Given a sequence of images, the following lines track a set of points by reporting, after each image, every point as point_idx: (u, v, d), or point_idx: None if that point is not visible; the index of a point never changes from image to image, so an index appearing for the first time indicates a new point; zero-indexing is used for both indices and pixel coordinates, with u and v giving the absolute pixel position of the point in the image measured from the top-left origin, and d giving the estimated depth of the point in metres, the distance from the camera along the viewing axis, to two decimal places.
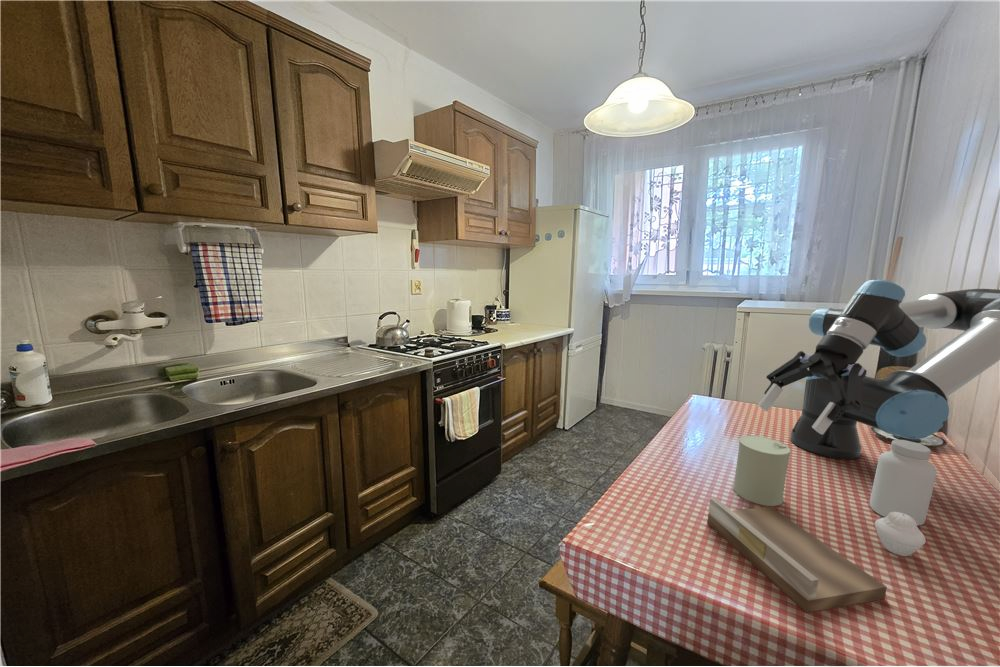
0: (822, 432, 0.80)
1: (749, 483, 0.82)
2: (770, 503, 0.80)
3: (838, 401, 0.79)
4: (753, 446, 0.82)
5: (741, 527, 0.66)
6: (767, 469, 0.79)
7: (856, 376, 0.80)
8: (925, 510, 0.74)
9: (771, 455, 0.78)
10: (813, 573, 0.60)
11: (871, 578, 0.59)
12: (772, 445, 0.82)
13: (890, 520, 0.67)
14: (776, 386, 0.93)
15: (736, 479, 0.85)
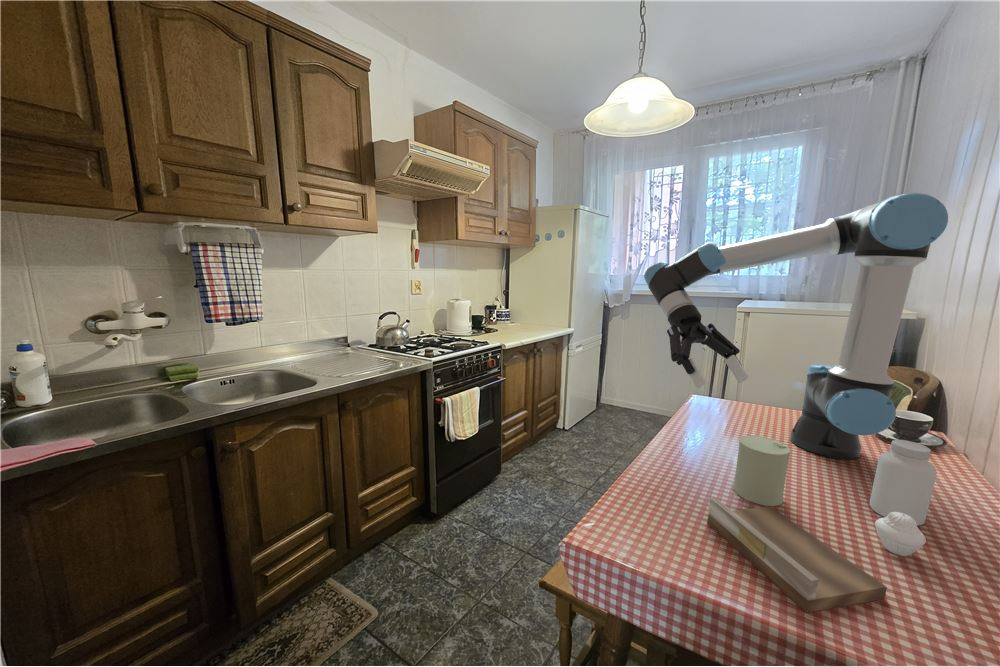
0: (702, 382, 0.88)
1: (749, 483, 0.82)
2: (770, 503, 0.80)
3: (678, 363, 0.93)
4: (753, 446, 0.82)
5: (741, 527, 0.66)
6: (767, 469, 0.79)
7: (670, 338, 0.96)
8: (925, 510, 0.74)
9: (771, 455, 0.78)
10: (813, 573, 0.60)
11: (871, 578, 0.59)
12: (772, 445, 0.82)
13: (890, 520, 0.67)
14: (726, 361, 0.97)
15: (736, 479, 0.85)
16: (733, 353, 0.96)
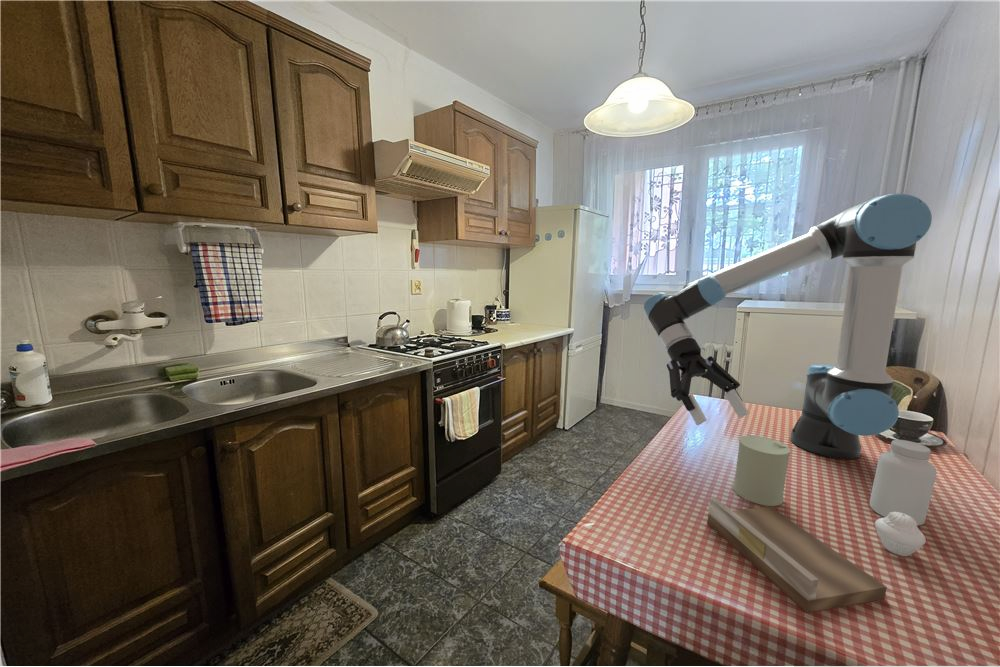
0: (702, 419, 0.88)
1: (749, 483, 0.82)
2: (770, 503, 0.80)
3: (677, 399, 0.93)
4: (753, 446, 0.82)
5: (741, 527, 0.66)
6: (767, 469, 0.79)
7: (670, 373, 0.96)
8: (925, 510, 0.74)
9: (771, 455, 0.78)
10: (813, 573, 0.60)
11: (871, 578, 0.59)
12: (772, 445, 0.82)
13: (890, 520, 0.67)
14: (726, 395, 0.97)
15: (736, 479, 0.85)
16: (733, 387, 0.96)
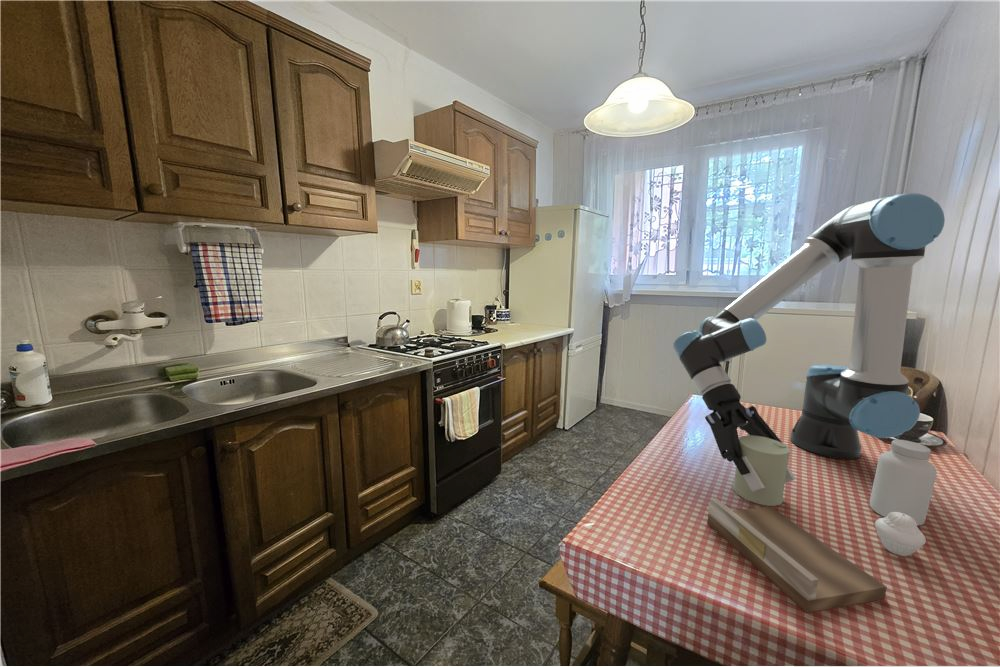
0: (759, 487, 0.79)
1: None
2: (770, 503, 0.80)
3: (729, 460, 0.84)
4: (753, 446, 0.82)
5: (741, 527, 0.66)
6: (767, 469, 0.79)
7: (712, 428, 0.87)
8: (925, 510, 0.74)
9: (771, 455, 0.78)
10: (813, 573, 0.60)
11: (871, 578, 0.59)
12: (772, 445, 0.82)
13: (890, 520, 0.67)
14: None
15: (736, 479, 0.85)
16: None
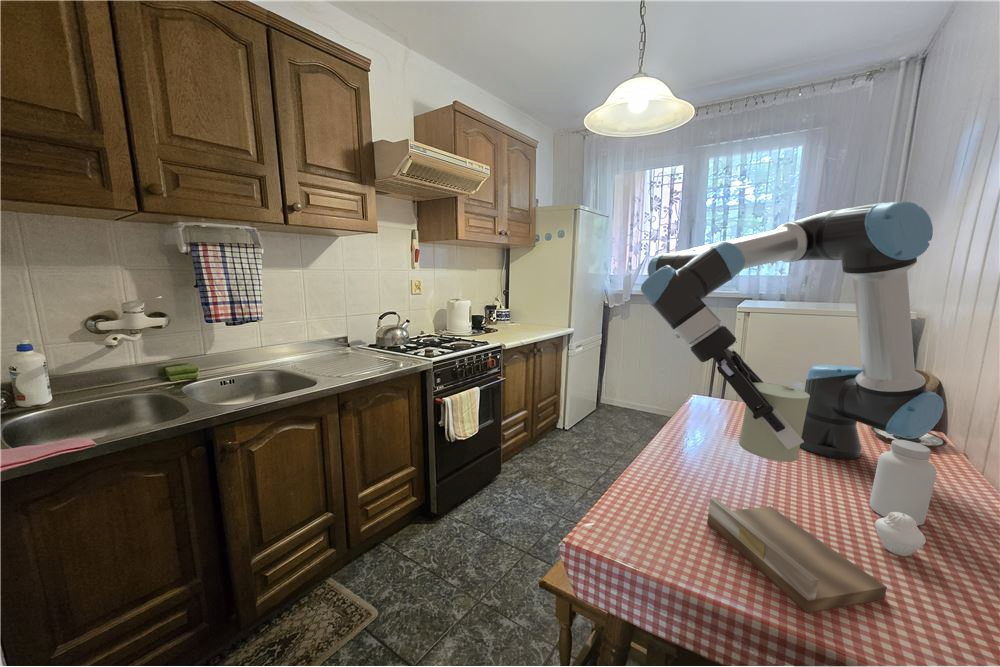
0: (799, 441, 0.64)
1: (777, 439, 0.67)
2: (796, 457, 0.67)
3: (755, 418, 0.67)
4: (777, 394, 0.67)
5: (741, 527, 0.66)
6: (798, 417, 0.66)
7: (730, 382, 0.67)
8: (925, 510, 0.74)
9: (803, 400, 0.65)
10: (813, 573, 0.60)
11: (871, 578, 0.59)
12: (783, 389, 0.70)
13: (890, 520, 0.67)
14: None
15: (753, 439, 0.69)
16: None
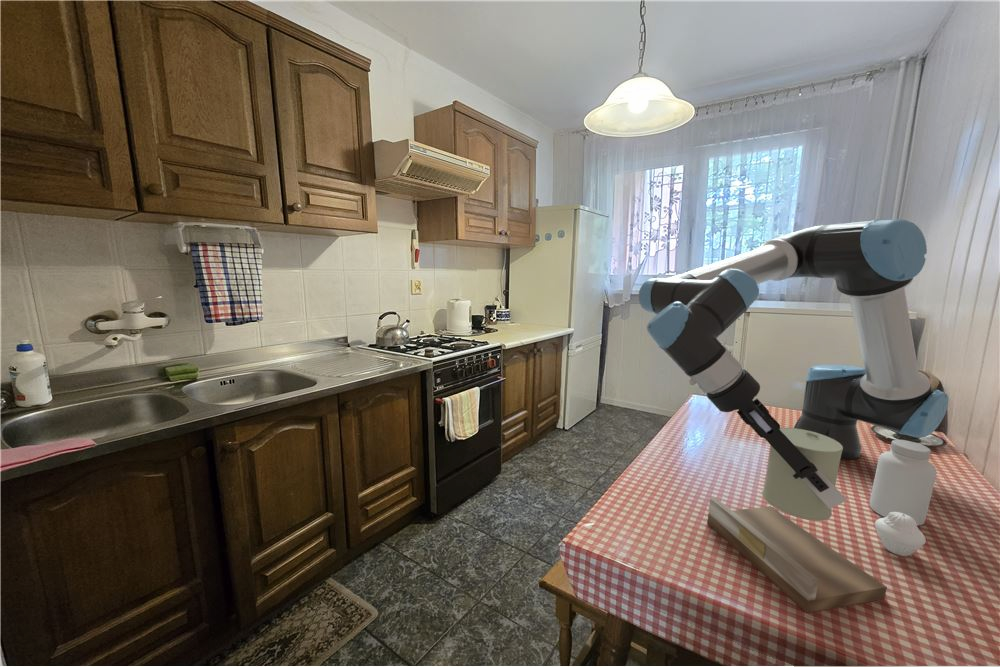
0: (842, 499, 0.58)
1: (816, 497, 0.60)
2: (831, 512, 0.61)
3: None
4: (812, 447, 0.60)
5: (741, 527, 0.66)
6: (836, 471, 0.59)
7: (768, 439, 0.58)
8: (925, 510, 0.74)
9: (841, 452, 0.59)
10: (813, 573, 0.60)
11: (871, 578, 0.59)
12: (808, 436, 0.64)
13: (890, 520, 0.67)
14: None
15: (788, 497, 0.61)
16: None
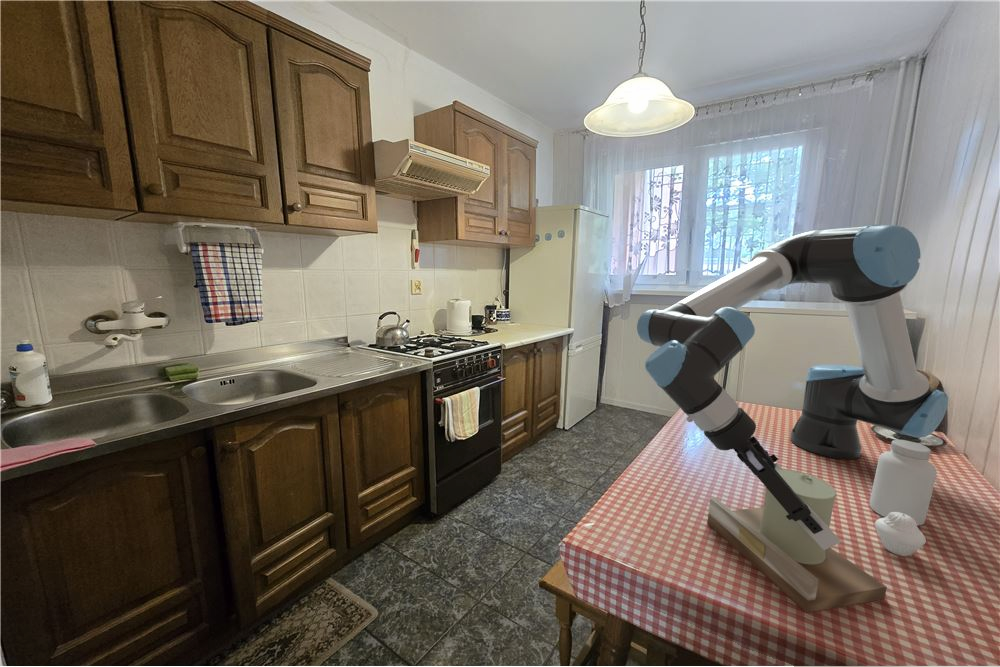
0: (837, 541, 0.57)
1: (810, 542, 0.61)
2: (825, 555, 0.63)
3: (789, 518, 0.58)
4: (806, 492, 0.61)
5: (741, 527, 0.66)
6: (829, 516, 0.61)
7: (760, 478, 0.59)
8: (925, 510, 0.74)
9: (834, 498, 0.60)
10: (813, 573, 0.60)
11: (871, 578, 0.59)
12: (802, 479, 0.65)
13: (890, 520, 0.67)
14: None
15: (783, 541, 0.63)
16: (773, 460, 0.71)
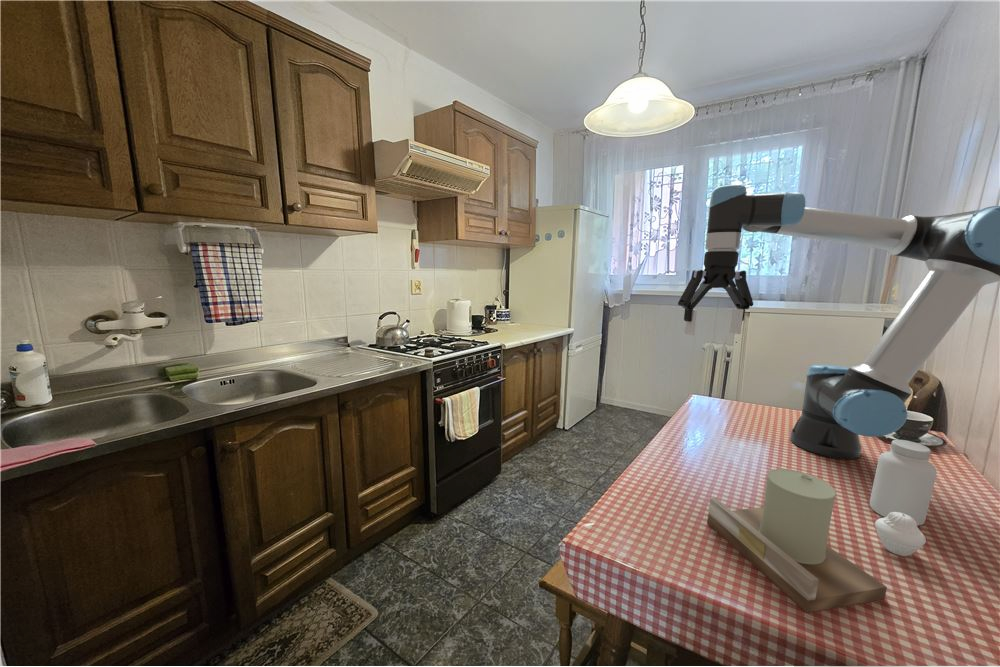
0: (690, 333, 0.99)
1: (810, 542, 0.61)
2: (825, 555, 0.63)
3: None
4: (806, 493, 0.61)
5: (741, 527, 0.66)
6: (829, 516, 0.61)
7: (690, 281, 0.98)
8: (925, 510, 0.74)
9: (834, 498, 0.60)
10: (813, 573, 0.60)
11: (871, 578, 0.59)
12: (802, 479, 0.65)
13: (890, 520, 0.67)
14: (734, 309, 1.02)
15: (783, 541, 0.63)
16: (743, 307, 1.00)
